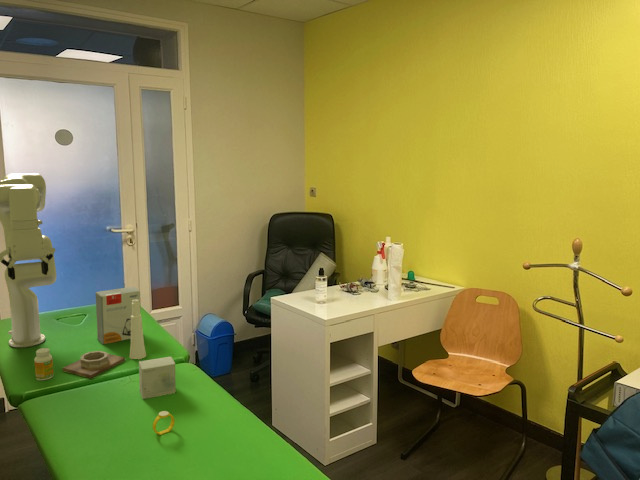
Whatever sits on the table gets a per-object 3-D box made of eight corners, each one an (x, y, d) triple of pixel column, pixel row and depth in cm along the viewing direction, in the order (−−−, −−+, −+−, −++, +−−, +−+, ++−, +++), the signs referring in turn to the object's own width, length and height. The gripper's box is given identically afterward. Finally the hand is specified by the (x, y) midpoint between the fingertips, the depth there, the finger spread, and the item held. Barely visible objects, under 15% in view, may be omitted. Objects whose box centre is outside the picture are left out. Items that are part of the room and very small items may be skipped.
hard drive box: (103, 345, 206) (100, 296, 203) (97, 339, 212) (94, 291, 208) (142, 336, 216) (140, 290, 212) (135, 331, 222) (133, 285, 218)
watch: (170, 427, 151) (171, 408, 150) (175, 432, 149) (176, 412, 148) (151, 434, 147) (151, 413, 146) (155, 438, 145) (156, 417, 144)
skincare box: (142, 400, 165) (141, 368, 163) (139, 391, 171) (138, 361, 169) (176, 393, 170) (175, 363, 168) (172, 385, 176) (171, 355, 174)
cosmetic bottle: (149, 355, 198) (147, 299, 194) (138, 361, 193) (135, 303, 189) (137, 352, 201) (135, 296, 197) (125, 357, 196) (123, 301, 191)
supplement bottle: (46, 381, 175) (44, 354, 174) (32, 379, 176) (29, 352, 175) (57, 374, 181) (55, 348, 179) (43, 372, 182) (41, 346, 180)
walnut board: (62, 371, 183) (62, 361, 183) (98, 354, 198) (97, 345, 197) (91, 378, 179) (90, 368, 178) (125, 360, 193) (124, 351, 192)
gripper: (48, 221, 179) (52, 270, 182) (-10, 226, 167) (-5, 278, 170) (57, 223, 174) (60, 274, 177) (-3, 229, 162) (2, 283, 165)
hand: (28, 276), depth 173 cm, fingers open, 9 cm apart
